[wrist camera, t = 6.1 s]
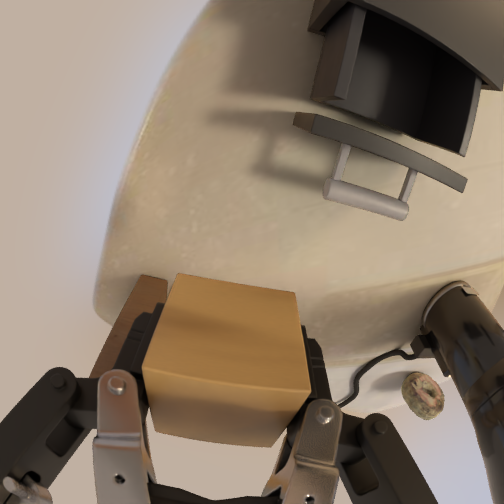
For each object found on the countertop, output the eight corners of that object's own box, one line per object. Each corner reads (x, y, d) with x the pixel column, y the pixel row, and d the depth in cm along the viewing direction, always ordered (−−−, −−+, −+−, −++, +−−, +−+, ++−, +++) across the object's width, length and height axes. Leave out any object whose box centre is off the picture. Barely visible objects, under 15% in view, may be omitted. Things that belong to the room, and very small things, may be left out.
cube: (268, 364, 13) (271, 448, 9) (175, 349, 12) (154, 432, 8) (295, 291, 10) (312, 391, 7) (177, 272, 10) (140, 367, 6)
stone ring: (392, 377, 41) (409, 423, 32) (406, 364, 39) (425, 411, 30) (422, 382, 43) (438, 422, 34) (434, 371, 41) (452, 411, 32)
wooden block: (141, 273, 30) (86, 379, 17) (168, 280, 30) (124, 392, 17) (141, 314, 33) (101, 414, 20) (165, 320, 33) (133, 424, 20)
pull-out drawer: (399, 207, 25) (441, 244, 18) (279, 173, 23) (291, 202, 17) (443, 41, 16) (495, 34, 9) (326, -15, 14) (353, -53, 7)
